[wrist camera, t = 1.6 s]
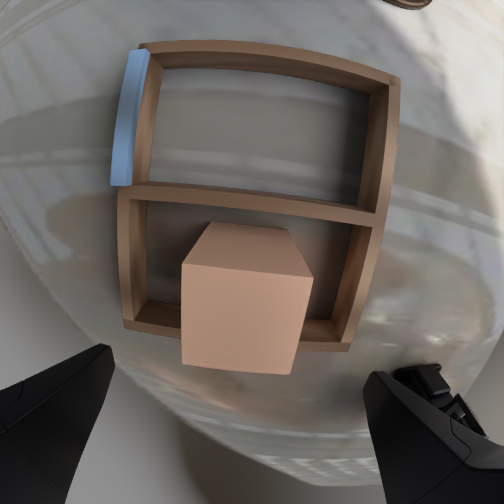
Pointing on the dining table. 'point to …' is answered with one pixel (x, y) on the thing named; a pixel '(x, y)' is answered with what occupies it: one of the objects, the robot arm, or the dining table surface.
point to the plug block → (243, 299)
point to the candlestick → (409, 3)
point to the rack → (140, 190)
